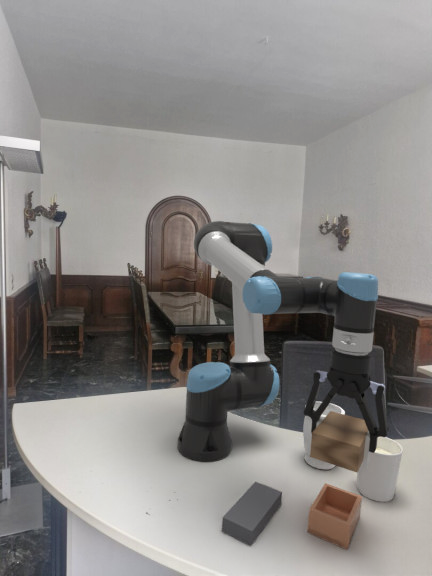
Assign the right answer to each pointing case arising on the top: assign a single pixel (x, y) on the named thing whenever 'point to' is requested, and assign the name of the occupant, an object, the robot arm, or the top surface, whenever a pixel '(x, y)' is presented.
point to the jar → (308, 436)
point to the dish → (334, 515)
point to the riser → (251, 513)
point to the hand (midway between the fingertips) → (340, 457)
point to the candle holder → (381, 471)
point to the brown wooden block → (340, 441)
